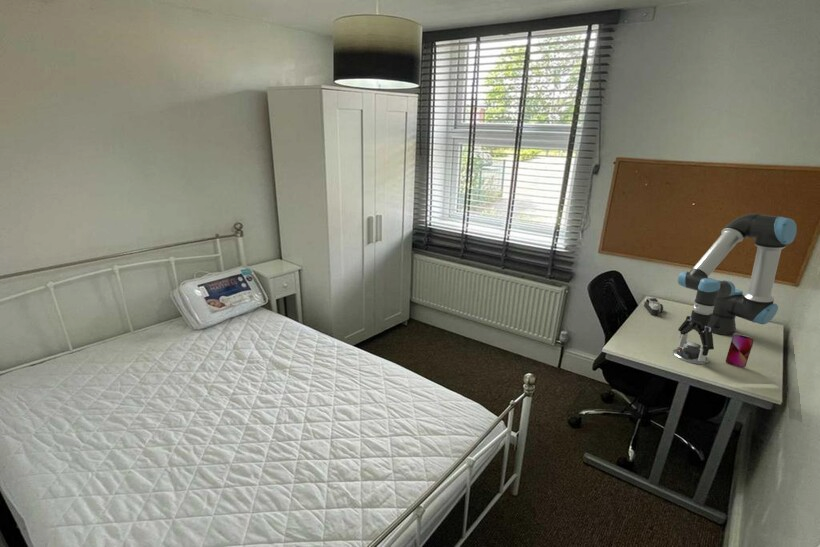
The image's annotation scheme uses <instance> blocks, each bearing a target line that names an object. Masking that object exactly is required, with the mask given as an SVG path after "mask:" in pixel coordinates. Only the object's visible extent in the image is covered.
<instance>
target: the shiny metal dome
mask: <svg viewBox="0 0 820 547" xmlns="http://www.w3.org/2000/svg"><path fill="white" fill-rule="evenodd" d="M700 351H701V349H700V350H699V353H698V357H697V359H689V358H690V354H689V353H686V352H685V351H683V347H679V346H677V347H676V349H673V351H672V355H673V356H674V357H675V358H677V359H679V360H681V361H684V362H686V363H690V364H695V365H706V364H708V363H709V358H708V357H707V356H706V359H705V361H698V358H699V354H700Z"/></svg>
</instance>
